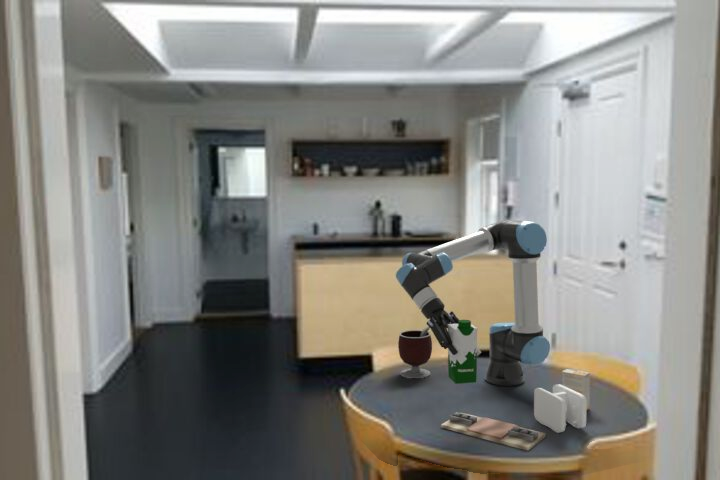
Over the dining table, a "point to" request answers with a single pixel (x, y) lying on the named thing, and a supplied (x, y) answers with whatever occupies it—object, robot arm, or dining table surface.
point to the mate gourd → (415, 351)
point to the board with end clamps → (493, 430)
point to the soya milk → (467, 343)
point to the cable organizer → (560, 408)
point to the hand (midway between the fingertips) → (471, 358)
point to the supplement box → (577, 382)
